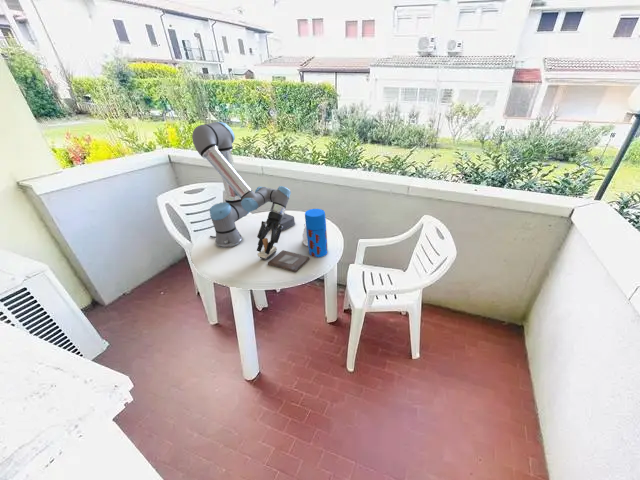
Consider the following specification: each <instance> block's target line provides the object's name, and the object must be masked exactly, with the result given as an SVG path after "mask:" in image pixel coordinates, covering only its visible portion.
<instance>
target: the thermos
mask: <svg viewBox="0 0 640 480" xmlns="http://www.w3.org/2000/svg"><path fill="white" fill-rule="evenodd" d="M304 220H305V223H306V231H307V240H308V246H307V247H308V254H309V256H311V257H313V258H322V257H325V256H326V255H327V254H328V236H327V235H328V234H327V219H326V213H325V210H324V209H322V208H311V209H307V210H306V211H305V212H304Z"/></svg>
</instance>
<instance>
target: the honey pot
mask: <svg viewBox="0 0 640 480" xmlns="http://www.w3.org/2000/svg"><path fill="white" fill-rule="evenodd" d="M303 226H304V228H303V232H302V242H303V245H304V246H306V247H308V240H307V231H306V222H305V223H304V225H303Z"/></svg>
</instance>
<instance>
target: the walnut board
mask: <svg viewBox="0 0 640 480" xmlns="http://www.w3.org/2000/svg"><path fill="white" fill-rule="evenodd" d="M309 260H310V256H308V255H304V254H299V253H295V252H292V251H288V250H284V249H283V250H281V251H280V252H279V253H277V254H276V255H275V256H274V257H272V258H271V259H270V260H269V261H267V265H268V266H271V267H276V268H278V269H281V270H282V269H283V270H286V271H289V272H293V273H297V272H298V271H299V270H300V269H301V268H302V267H303V266H305V264H306V263H308V261H309Z"/></svg>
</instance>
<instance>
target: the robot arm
mask: <svg viewBox="0 0 640 480" xmlns="http://www.w3.org/2000/svg"><path fill="white" fill-rule="evenodd" d="M235 138H236V137H235V133H234V131H233V129H232V127H231V126H229V124H227V123H226V122H223V121H214V122H209V123H205V124H199V125H198V126H196V127H195V128H194V129H193V131H192V139H191V140H192V143H193V145H194V148H195V150H196V151H197V152H198V154H199V155H200V156H201V158H202V159H204V160H207V161H208V163H209V164H210V165H211V166H212V167H213V168H214V169H215V171H216V172H217V173H218V174H219V176H220V178H221V181H222V184H223V188H224V192H225V194H226V195H225V197H224V201H225V202H224V201H223V202H219V203H214V204H213V205H212V206H211V207H210V208H209V216H210V219H211V221H212V224H213V228H214V231H215V236H213V235H209V238H213V239H215V244H216V247H218V248H223V249H224V248H225V249H226V248H232V247H235V246H238V245H240V244H241V243H242V242H243V236H242V235H241V233H240V232H239V230H238V229H237V226H236V222H237V221H239V220H241V219H242V218H244V217H246V216H247V215H249V213H251V212H254V211H255V210H257V209H259V208H260V207H262V206H264V205H266V204H267V203H272V204H271V206H270V210H269V212H268V215H267V219H268V220H267V219H266V221H263V220H262V221H261V225H260V228H259V230H258V233H257V236H256V238H257V239H258V243H257V245H258V246H257V248H256V251H257V252H258V253H259V252H261V251H262V250H263V248H264V245H263V240H262V239H264V238H267V235H268V234H269V232H270V231H271V233H270V240H269V241H268V246H267V248H266V251H265V253H266V254H269V253H270V250H271V249H272V247H273V246H274V244H278V243H279V239H280V237H281V233H282V231H283V230H282V229H283V228H284V227H283V226H281V225H280V222H281V220H282V215H283V214H284V213H285V212H286V208H287V206H288V203H289V200H290V197H291V193H292V192H291V189H289V188H288V187H286V186H283V185H282V186H281V185H279V186H278V187H277V189H276V188H271V187H266V186H257V187H256V189H255V191H253V190H252V188H251V187H250V186H249V185H248V184H247V182H246V181H245V180H244V179H243V178H242V176H241V175H240V174H239V173H238V171H236V166H235V161H234V158H233V154H232V151H233V150H234V148H233V143H234V142H235ZM277 228H278V229H277Z"/></svg>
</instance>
